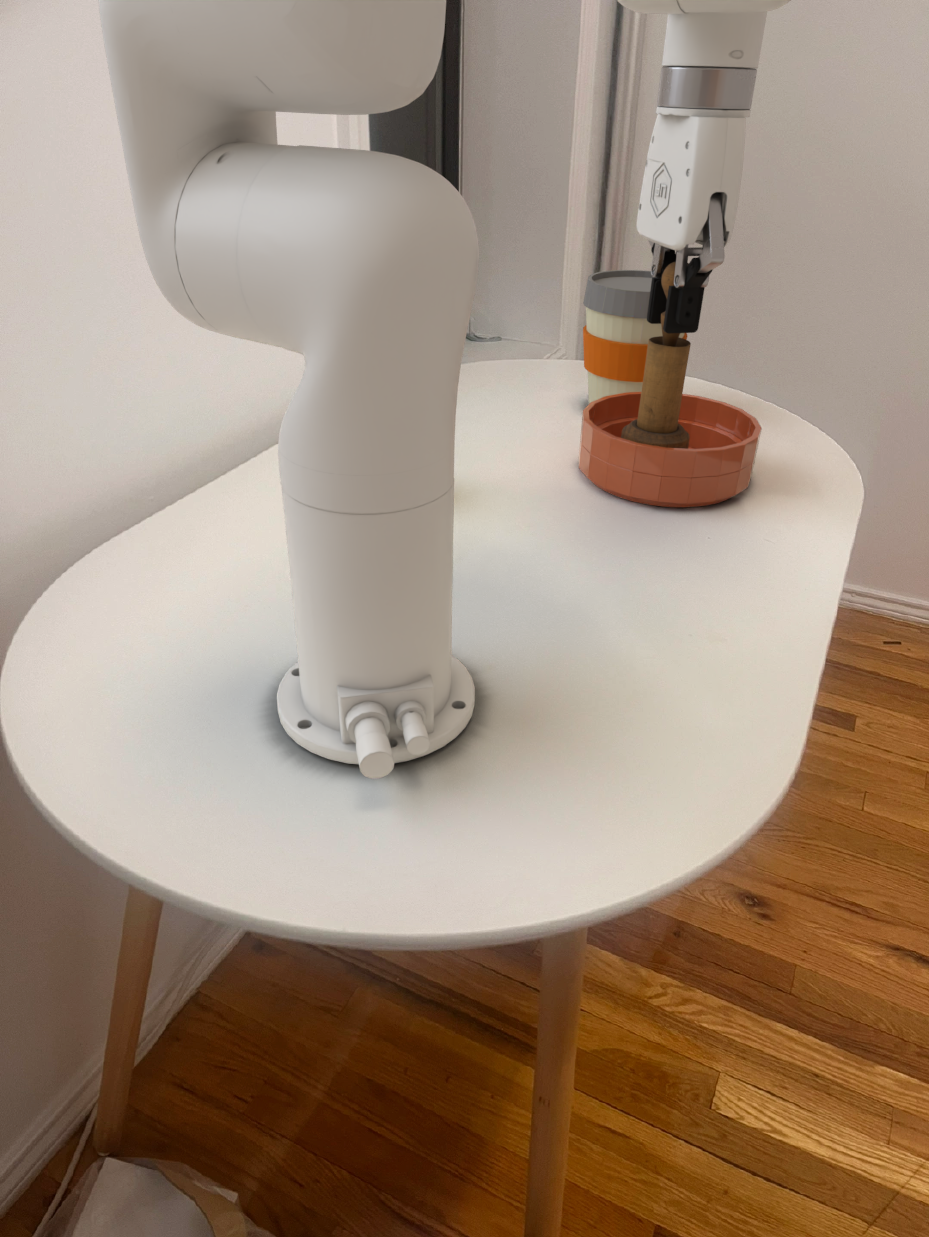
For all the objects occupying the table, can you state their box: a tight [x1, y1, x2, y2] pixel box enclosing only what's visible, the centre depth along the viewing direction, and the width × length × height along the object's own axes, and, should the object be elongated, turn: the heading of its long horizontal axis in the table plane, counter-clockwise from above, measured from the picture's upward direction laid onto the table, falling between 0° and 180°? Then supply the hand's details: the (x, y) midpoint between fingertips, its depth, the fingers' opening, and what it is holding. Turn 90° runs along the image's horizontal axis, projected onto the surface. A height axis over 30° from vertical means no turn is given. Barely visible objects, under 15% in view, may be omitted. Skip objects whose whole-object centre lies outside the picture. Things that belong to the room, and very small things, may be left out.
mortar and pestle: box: [621, 262, 692, 449], centre depth 83 cm, size 7×6×18 cm
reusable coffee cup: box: [582, 269, 688, 404], centre depth 104 cm, size 13×13×15 cm
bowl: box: [577, 392, 763, 508], centre depth 89 cm, size 17×17×6 cm
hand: (671, 325), depth 81 cm, fingers closed on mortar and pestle, 2 cm apart
